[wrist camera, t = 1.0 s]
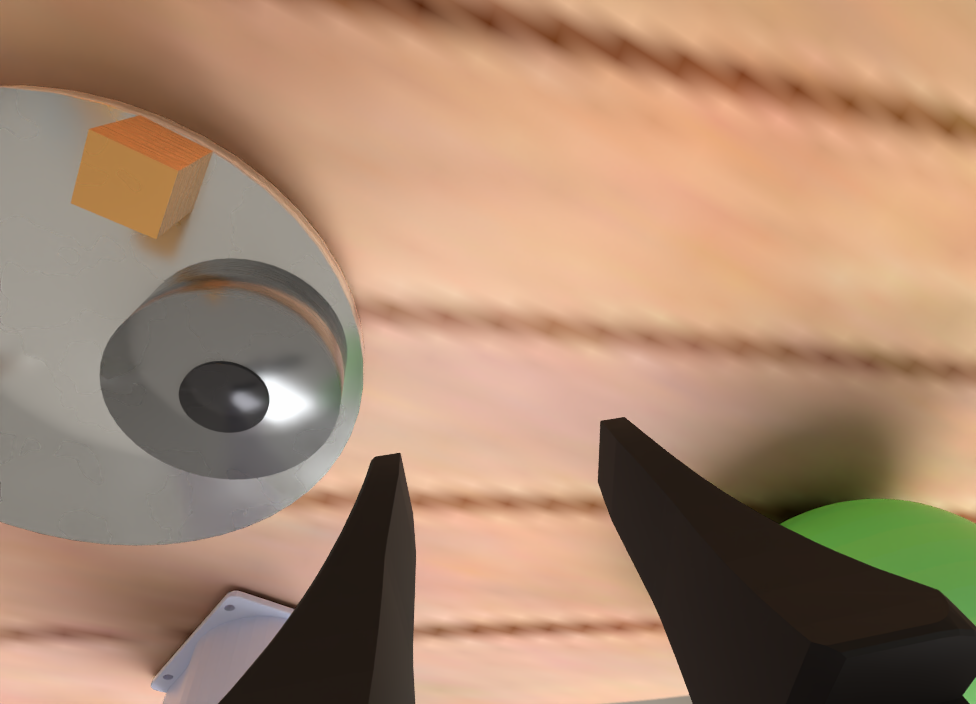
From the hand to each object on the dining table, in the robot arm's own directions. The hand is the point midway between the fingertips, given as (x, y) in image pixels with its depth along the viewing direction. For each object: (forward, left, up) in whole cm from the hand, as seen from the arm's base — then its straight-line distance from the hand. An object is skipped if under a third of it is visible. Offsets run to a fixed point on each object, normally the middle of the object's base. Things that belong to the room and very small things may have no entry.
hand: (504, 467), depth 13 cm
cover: (-6, +6, -8) cm, 11 cm away
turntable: (-9, +9, -9) cm, 16 cm away
